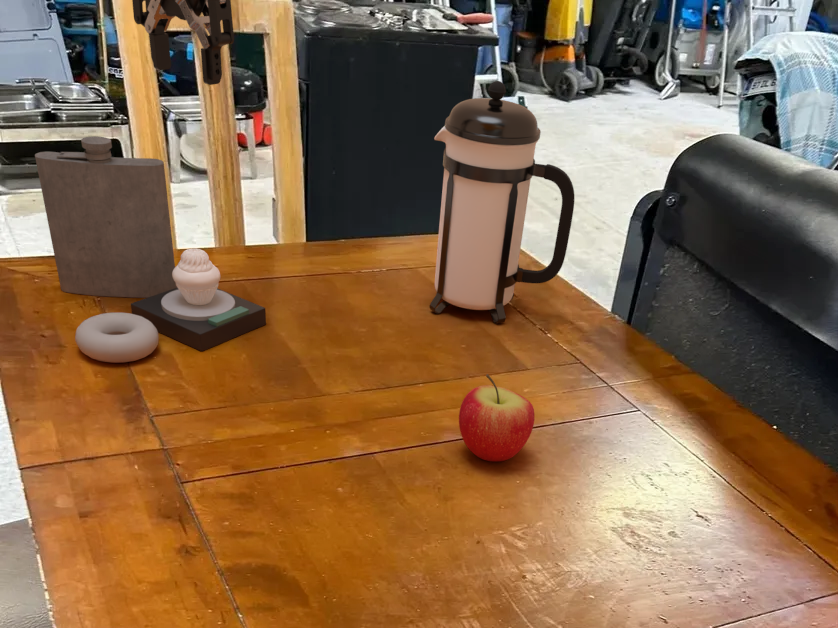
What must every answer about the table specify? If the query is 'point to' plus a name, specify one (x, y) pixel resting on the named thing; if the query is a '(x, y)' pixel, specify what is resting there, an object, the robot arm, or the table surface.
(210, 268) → the muffin
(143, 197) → the hip flask
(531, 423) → the apple
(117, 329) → the donut
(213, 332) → the scale
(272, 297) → the table surface
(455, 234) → the coffee press
